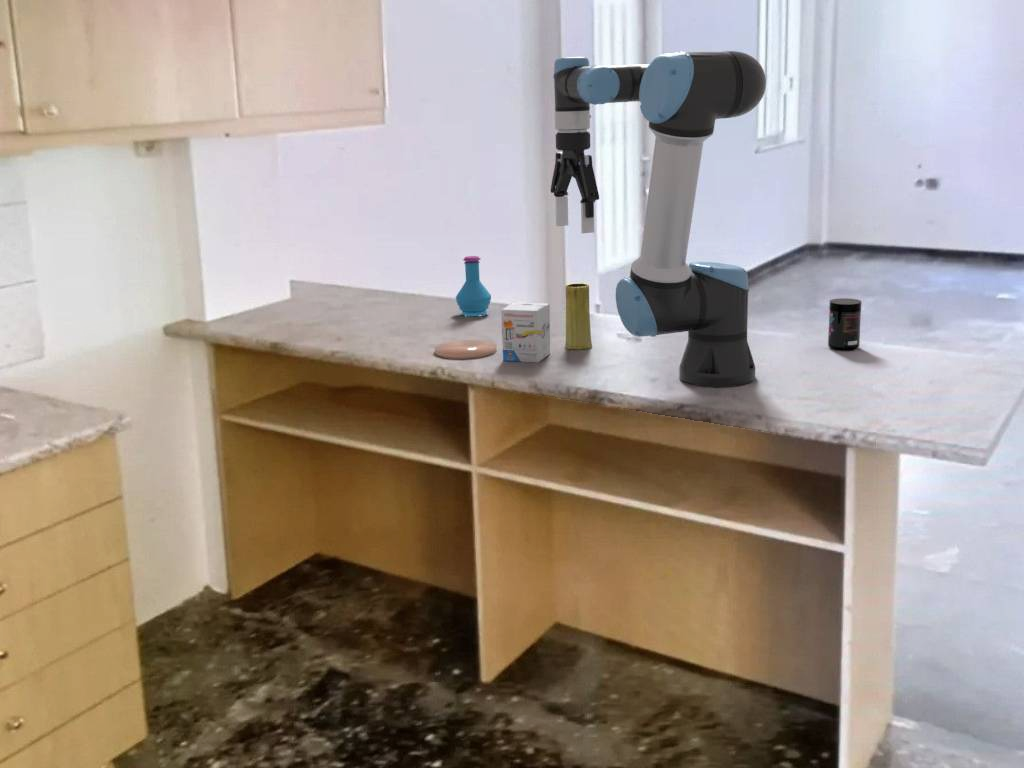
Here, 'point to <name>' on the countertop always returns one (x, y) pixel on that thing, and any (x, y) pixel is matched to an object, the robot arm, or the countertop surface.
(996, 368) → the countertop surface
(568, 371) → the countertop surface
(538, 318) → the ink box
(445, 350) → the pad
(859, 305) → the supplement container
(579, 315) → the vase
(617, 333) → the countertop surface
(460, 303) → the perfume bottle
